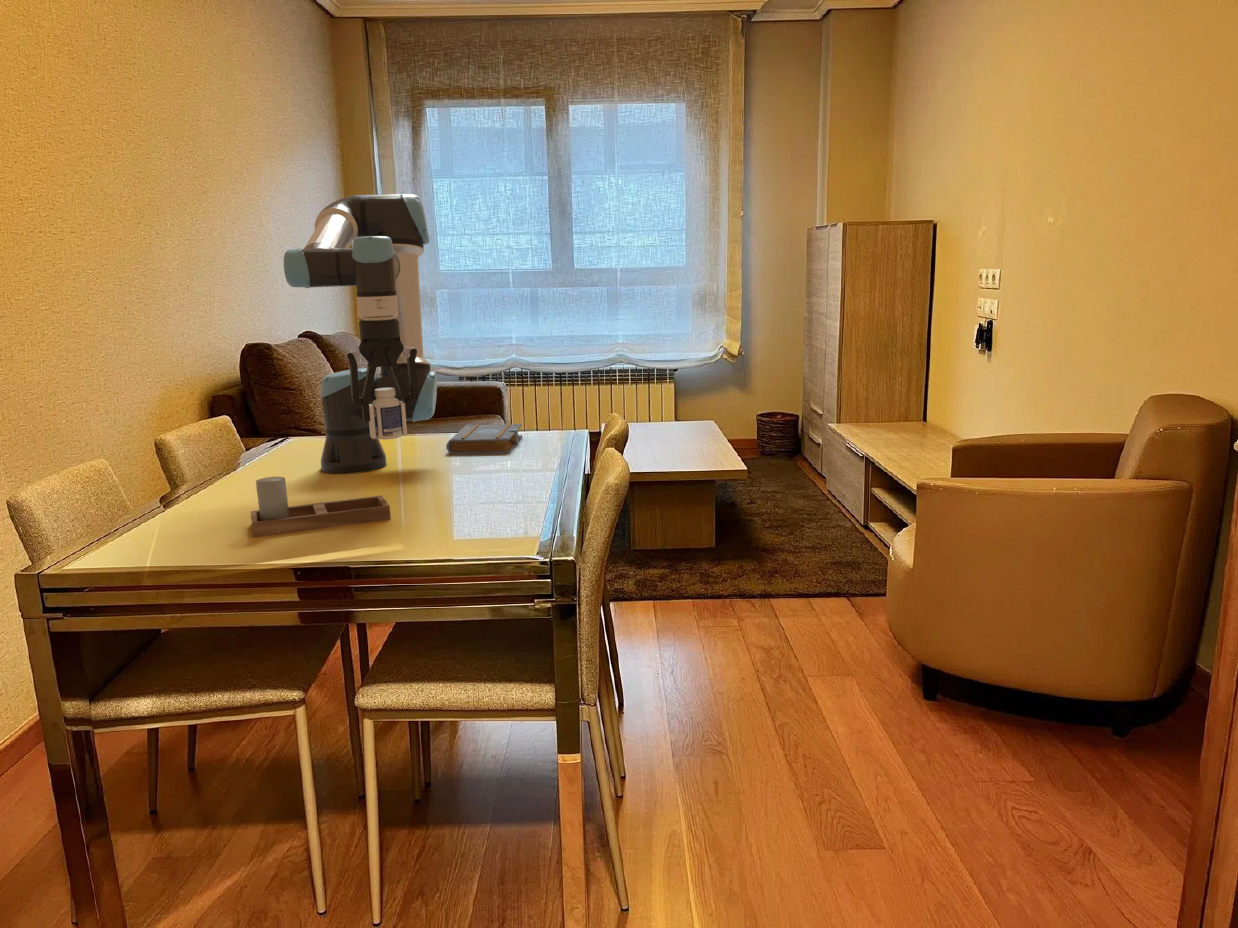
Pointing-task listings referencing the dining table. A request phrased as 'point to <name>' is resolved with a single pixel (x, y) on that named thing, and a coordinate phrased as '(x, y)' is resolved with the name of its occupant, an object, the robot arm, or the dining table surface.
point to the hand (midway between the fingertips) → (388, 435)
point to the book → (485, 439)
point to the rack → (323, 516)
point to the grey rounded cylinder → (272, 498)
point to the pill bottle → (387, 414)
